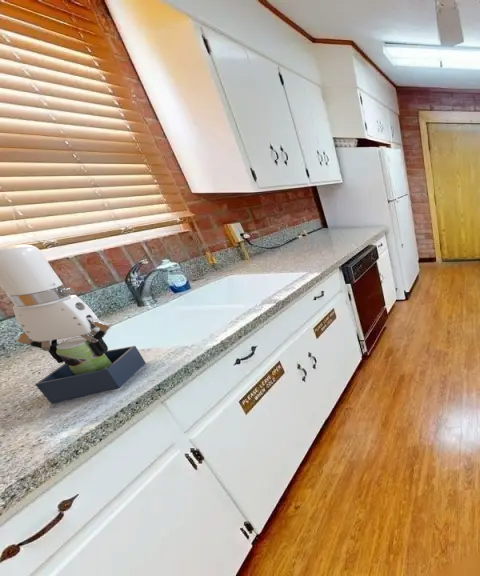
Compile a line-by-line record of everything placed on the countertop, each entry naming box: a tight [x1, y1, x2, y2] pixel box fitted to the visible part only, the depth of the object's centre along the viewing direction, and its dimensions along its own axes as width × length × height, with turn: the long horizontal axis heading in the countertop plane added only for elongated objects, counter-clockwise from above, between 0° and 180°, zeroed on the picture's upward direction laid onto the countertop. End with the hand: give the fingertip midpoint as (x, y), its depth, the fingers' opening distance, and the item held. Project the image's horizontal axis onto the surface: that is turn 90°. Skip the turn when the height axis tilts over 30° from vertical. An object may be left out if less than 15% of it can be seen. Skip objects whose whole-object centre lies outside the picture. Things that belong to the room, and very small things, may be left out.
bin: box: [34, 345, 147, 405], centre depth 81 cm, size 12×12×7 cm
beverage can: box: [56, 336, 112, 375], centre depth 79 cm, size 6×7×12 cm
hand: (84, 355), depth 78 cm, fingers closed on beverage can, 6 cm apart
